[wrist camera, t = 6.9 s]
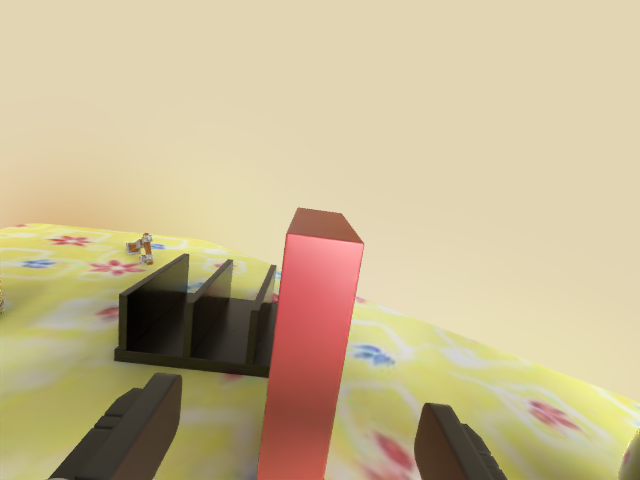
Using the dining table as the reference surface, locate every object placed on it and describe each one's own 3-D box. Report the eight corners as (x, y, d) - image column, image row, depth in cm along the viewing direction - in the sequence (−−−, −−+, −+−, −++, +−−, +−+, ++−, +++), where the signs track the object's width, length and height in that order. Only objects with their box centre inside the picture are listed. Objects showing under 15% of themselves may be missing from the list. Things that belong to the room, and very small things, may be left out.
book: (246, 563, 13) (286, 232, 10) (270, 416, 21) (297, 207, 18) (308, 568, 13) (365, 243, 10) (309, 420, 21) (342, 213, 18)
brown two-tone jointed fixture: (145, 264, 43) (141, 231, 43) (128, 270, 48) (125, 241, 49) (159, 263, 44) (156, 231, 44) (141, 269, 50) (138, 241, 50)
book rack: (113, 361, 24) (114, 293, 23) (178, 299, 36) (181, 253, 35) (316, 383, 25) (326, 319, 24) (315, 316, 37) (321, 271, 36)
